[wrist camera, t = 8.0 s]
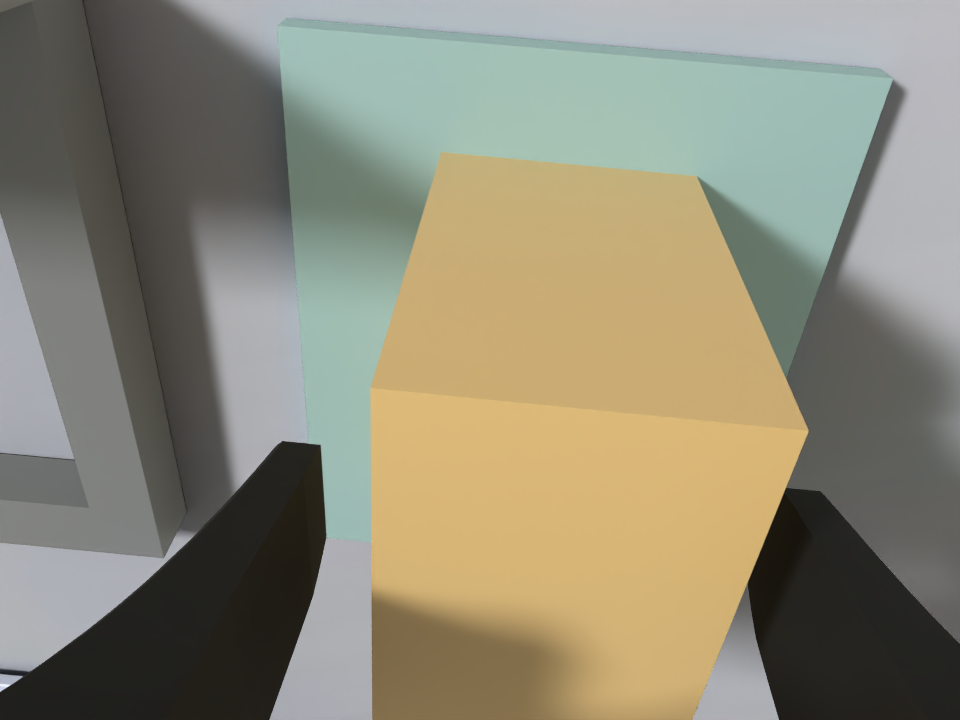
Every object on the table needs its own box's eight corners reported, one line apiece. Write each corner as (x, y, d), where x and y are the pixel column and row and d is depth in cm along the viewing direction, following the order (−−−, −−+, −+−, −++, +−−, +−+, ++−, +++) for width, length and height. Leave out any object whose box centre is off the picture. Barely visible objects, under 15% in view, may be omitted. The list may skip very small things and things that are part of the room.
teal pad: (712, 556, 20) (716, 575, 19) (320, 519, 20) (315, 536, 20) (880, 68, 13) (893, 78, 13) (286, 18, 13) (277, 26, 13)
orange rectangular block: (617, 502, 18) (653, 816, 13) (425, 484, 18) (373, 787, 13) (696, 176, 14) (808, 430, 8) (441, 152, 14) (370, 387, 8)
